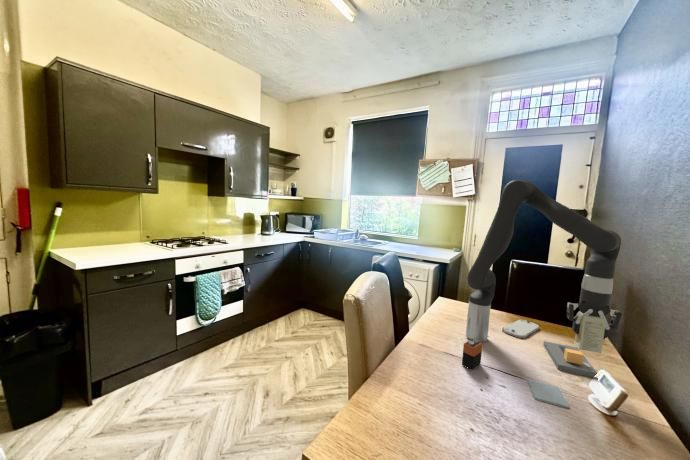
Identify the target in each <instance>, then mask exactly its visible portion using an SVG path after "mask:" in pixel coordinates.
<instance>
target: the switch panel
mask: <svg viewBox="0 0 690 460" xmlns="http://www.w3.org/2000/svg"><path fill="white" fill-rule="evenodd" d="M542 346H543V347H544V349H545V351H546V352H547V354H548V355H549V357H550V359H551V361H552V362H553V363H554V366H555V367H556V369H557V370H559V371H563V372H567V373H572V374H576V375H580V376H584V377H585V376H586V377H588V378H593V377H594V376H595V375H596V374H597V373H598V371H597V370H596V369H595V368H594V367H593V365H592V364H591V363H590V362H589V361H588V359H587V358H586V357H585V356H584V357H583V364H582V365H580V364H576V363H571V362H567V361H566V360H565V359H564V352H565V348H566V349H571V350H576V351H580V349H578V347H577V346H570V345H566V344H561V343H556V342H552V341H546V340H544V341H543V345H542Z"/></svg>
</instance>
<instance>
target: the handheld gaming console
mask: <svg viewBox="0 0 690 460" xmlns="http://www.w3.org/2000/svg"><path fill="white" fill-rule="evenodd" d="M539 329H540V325H539V324H537V323H534V322H531V321H529V320H526V319H517V320H515V321H514V322H512V323H510V324H509V325H506V326H504V327H502V333H503V332H504V334H507V335H510V336H512V337H514V338H517V339H525V338H527V337H528V336H530V335H532V334H534V333H535V332H537V331H538V330H539Z"/></svg>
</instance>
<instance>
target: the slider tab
mask: <svg viewBox="0 0 690 460" xmlns="http://www.w3.org/2000/svg"><path fill="white" fill-rule="evenodd" d="M583 357H585V355H584V353H583V352H582V350H579V351H576V350H571V349H566V348H565V352H564V359H565V360H566V361H567V362H571V363H576V364H580V365H582V364H583Z"/></svg>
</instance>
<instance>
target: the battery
mask: <svg viewBox="0 0 690 460" xmlns="http://www.w3.org/2000/svg"><path fill="white" fill-rule="evenodd" d="M462 348H463V349H462V350H463V351H462V361H461V366H463V365H464V366H463V367H465V366H466V367H465V368H467V367H468V368H467V369H469V370H470V369H471V370H470V371H473V370H474V369H476V368H478V367H479V366H481V363H482V351H483V342H478V340H477V339H469V340H468V341H466V342H464V343H463V347H462Z"/></svg>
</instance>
